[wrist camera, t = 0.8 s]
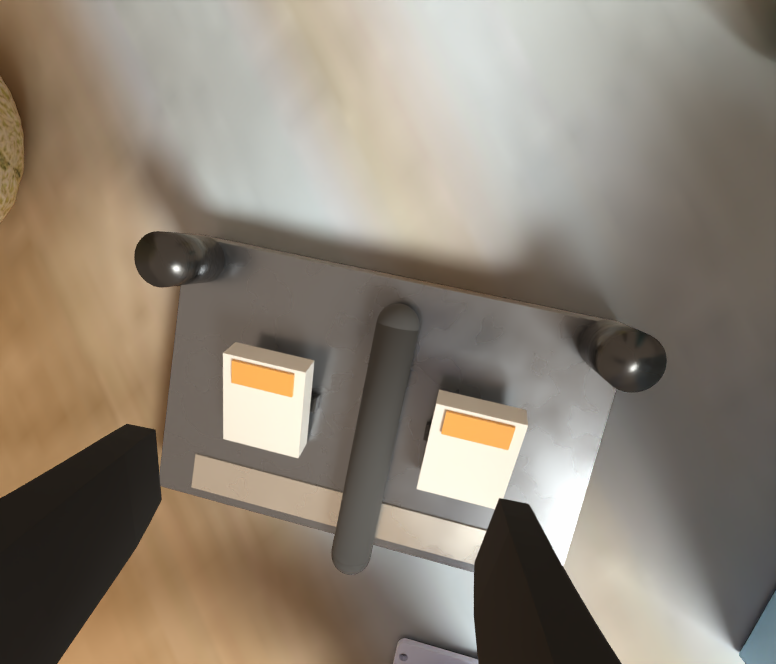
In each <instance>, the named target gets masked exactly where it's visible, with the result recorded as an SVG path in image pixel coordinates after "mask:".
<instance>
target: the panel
mask: <svg viewBox="0 0 776 664" xmlns="http://www.w3.org/2000/svg"><path fill="white" fill-rule="evenodd" d="M135 265H136V268H137V270H138V272H139V274H140V275H141V277H142V278H143V279H144V280H145V281H146V282H148V283H149V284H151V285H153V286H156V287H171V286H179V285H181V288H180V297H179V306H178V315H177V324H176V332H175V341H174V350H173V359H172V368H171V377H170V386H169V395H168V404H167V413H166V421H165V430H164V439H163V448H162V457H161V466H160V475H159V476H160V486H162V487H166V488H169V489H173V490H176V491H180V492H184V493H187V494H191V495H195V496H198V497H202V498H206V499H209V500H213V501H216V502H220V503H224V504H227V505H231V506H235V507H238V508H242V509H246V510H249V511H253V512H256V513H260V514H264V515H267V516H271V517H275V518H278V519H282V520H285V521H289V522H293V523H296V524H300V525H304V526H307V527H311V528H315V529H318V530H322V531H325V532H329V533H333V534H335V531H336V526H337V521H338V516H339V511H340V505H341V500H342V495H343V490H344V485H345V480H346V475H347V470H348V465H349V460H350V454H351V449H352V444H353V439H354V434H355V429H356V424H357V419H358V414H359V409H360V403H361V398H362V393H363V388H364V383H365V378H366V373H367V368H368V363H369V357H370V352H371V347H372V342H373V337H374V332H375V327H376V322H377V318H378V316H379V314H380V312H381V311H382V310H383V309H384V308H385V307H387V306H389V305H392V304H398V303H399V304H404V305H407V306H409V307H410V308H411V309H413V310H414V312H415V313H416V314H417V316H418V319H419V331H418V336H417V341H416V345H415V350H414V355H413V359H412V364H411V369H410V373H409V378H408V383H407V387H406V392H405V397H404V402H403V406H402V411H401V416H400V420H399V425H398V430H397V434H396V439H395V444H394V449H393V453H392V458H391V463H390V467H389V472H388V477H387V481H386V486H385V491H384V495H383V500H382V505H381V510H380V514H379V519H378V524H377V528H376V533H375V538H374V542H373V545H376V546H380V547H384V548H387V549H391V550H394V551H398V552H402V553H405V554H409V555H413V556H416V557H420V558H424V559H427V560H431V561H434V562H438V563H442V564H445V565H449V566H453V567H456V568H460V569H464V570H467V571H471V572H474V562H475V559H476V557H477V554H478V552H479V549H480V546H481V544H482V541H483V539H484V536H485V533H486V531H487V528H488V526H489V523H490V521H491V518H492V515H493V513H494V510H495V509H492V508H488V507H484V506H480V505H476V504H473V503H469V502H465V501H461V500H457V499H453V498H449V497H446V496H442V495H438V494H434V493H430V492H426V491H422V490H418V489H417V484H418V479H419V474H420V469H421V465H422V461H423V456H424V452H425V448H426V443H427V439H428V435H429V430H430V426H431V422H432V418H433V413H434V409H435V405H436V400H437V396H438V392H439V390H443V391H447V392H452V393H456V394H460V395H465V396H469V397H473V398H477V399H482V400H486V401H490V402H495V403H499V404H503V405H507V406H512V407H516V408H520V409H525V410H526V411H527V419H528V428H527V431H526V434H525V436H524V439H523V442H522V445H521V448H520V451H519V454H518V457H517V460H516V463H515V466H514V468H513V471H512V474H511V477H510V480H509V483H508V486H507V489H506V492H505V495H504V498H503V499H507V500H512V501H517V502H522V503H527V504H529V505H530V506H531V508H532V510H533V511H534V513H535V515H536V517H537V519H538V521H539V523H540V525H541V527H542V529H543V530H544V532H545V534H546V536H547V538H548V540H549V542H550V544H551V545H552V547H553V549H554V551H555V553H556V555H557V556H558V558H559V560H560V562H561V564H562V566H564V562H565V559H566V556H567V552H568V549H569V546H570V543H571V539H572V536H573V533H574V529H575V526H576V523H577V519H578V516H579V513H580V509H581V506H582V503H583V499H584V496H585V493H586V489H587V486H588V483H589V479H590V476H591V473H592V469H593V466H594V463H595V460H596V456H597V453H598V450H599V446H600V443H601V440H602V436H603V433H604V430H605V426H606V423H607V420H608V416H609V413H610V410H611V406H612V403H613V400H614V396H615V393H616V390H617V389H618V390H621V391H624V392H640V391H643V390H646V389H648V388H650V387H652V386H653V385H654V384H656V383H657V382H658V381H659V380H660V378H661V377H662V375H663V374H664V371H665V368H666V362H667V360H666V353H665V350H664V348H663V346H662V345H661V344H660V342H659V341H658V340H657V339H655V338H654V337H652V336H651V335H648V334H646V333H644V332H641V331H639V330H637V329H634V328H632V327H630V326H628V325H625V324H623V323H621V322H618V321H615V320H610V319H604V318H599V317H594V316H589V315H585V314H580V313H575V312H570V311H565V310H561V309H556V308H551V307H546V306H541V305H537V304H532V303H527V302H522V301H517V300H513V299H508V298H503V297H498V296H493V295H489V294H484V293H479V292H474V291H469V290H465V289H460V288H455V287H450V286H445V285H441V284H436V283H431V282H426V281H421V280H417V279H412V278H407V277H402V276H397V275H393V274H388V273H383V272H378V271H373V270H369V269H364V268H359V267H354V266H349V265H345V264H340V263H335V262H330V261H325V260H321V259H316V258H311V257H306V256H301V255H297V254H292V253H287V252H282V251H277V250H273V249H268V248H263V247H258V246H253V245H249V244H244V243H239V242H234V241H229V240H225V239H220V238H215V237H210V236H207V235H201V234H187V233H173V232H159V231H157V232H151V233H148V234H146V235H145V236H144V237H143V238H141V240H140V241H139V242H138V244H137V246H136V249H135ZM235 342H238V343H242V344H246V345H251V346H255V347H259V348H263V349H268V350H272V351H276V352H281V353H285V354H289V355H293V356H298V357H302V358H306V359H311V360H314V371H313V381H312V392H311V403H310V414H309V424H308V435H307V444H306V446H305V447H304V449H303V451H302V453H301V455H300V456H299V458H295V457H291V456H287V455H283V454H279V453H276V452H272V451H268V450H264V449H260V448H256V447H252V446H249V445H245V444H241V443H237V442H233V441H229V440H225V439H223V353H224V352H225V351H226V350H227V349H228V348H229V347H230V346H231V345H233V344H234V343H235Z"/></svg>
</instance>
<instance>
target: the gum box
mask: <svg viewBox="0 0 776 664" xmlns="http://www.w3.org/2000/svg"><path fill="white" fill-rule="evenodd" d="M739 656H740V657H741V658H742V660H743V661H744V662H745V664H776V591H775V592H774V594H773V596H772V597H771V599H770V601H769V603H768V605H767V606H766V608H765V610H764V612H763V613H762V615H761V617H760V619H759V620H758V622H757V624H756V626H755V627H754V629H753V631H752V633H751V634H750V636H749V638H748V640H747V641H746V643H745V645H744V646H743V648H742V649H741V651H740V653H739Z"/></svg>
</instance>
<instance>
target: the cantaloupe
mask: <svg viewBox="0 0 776 664" xmlns="http://www.w3.org/2000/svg"><path fill="white" fill-rule="evenodd" d="M23 169H24V134H23V129H22V127H21V119H20V116H19V114H18V111H17V108H16V104H15V102H14V100H13V98H12V95H11V92H10V90H9V89H8V87H7V86H6V84H5V83H4V82H3V80H2V78H1V76H0V223H1V222H2V220H3V219H4V218H5V216H6V215H7V214H8V212H9V211H10V209H11V208H12V206H13V204H14V203H15V201H16V195H17V192H18V188H19V182H20V180H21V178H22V175H23Z"/></svg>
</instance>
